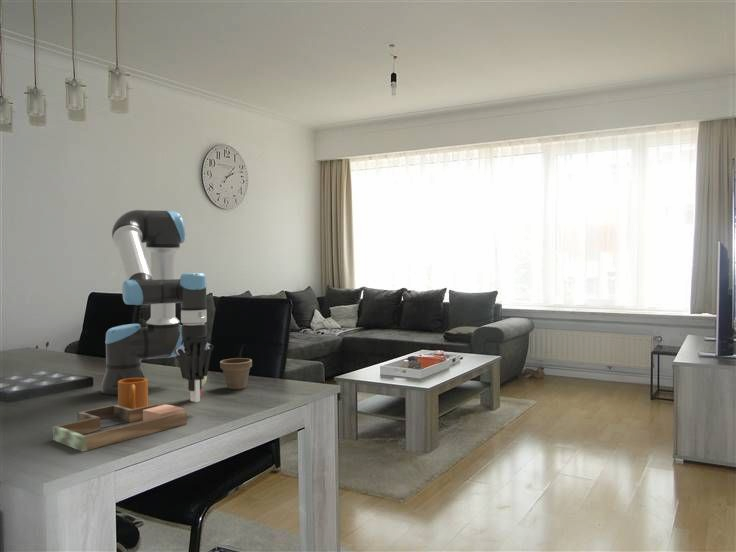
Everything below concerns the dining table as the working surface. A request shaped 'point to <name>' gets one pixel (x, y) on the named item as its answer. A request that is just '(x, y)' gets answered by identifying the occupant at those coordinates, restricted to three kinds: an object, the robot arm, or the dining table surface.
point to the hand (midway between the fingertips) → (195, 400)
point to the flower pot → (236, 372)
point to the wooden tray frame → (110, 417)
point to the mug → (133, 392)
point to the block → (160, 411)
